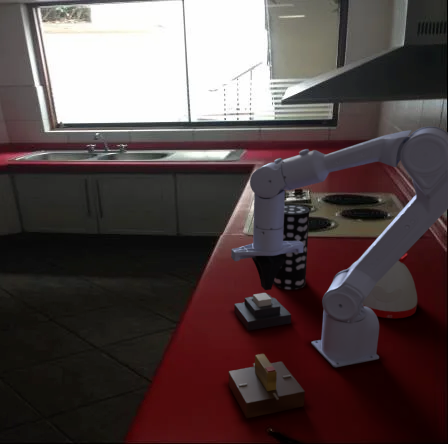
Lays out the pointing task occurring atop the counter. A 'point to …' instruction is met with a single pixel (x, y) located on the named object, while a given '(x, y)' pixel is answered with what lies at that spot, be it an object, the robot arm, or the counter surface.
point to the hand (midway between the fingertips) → (266, 287)
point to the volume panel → (265, 391)
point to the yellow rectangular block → (265, 372)
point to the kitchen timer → (393, 293)
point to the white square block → (261, 299)
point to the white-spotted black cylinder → (294, 262)
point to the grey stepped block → (261, 314)
